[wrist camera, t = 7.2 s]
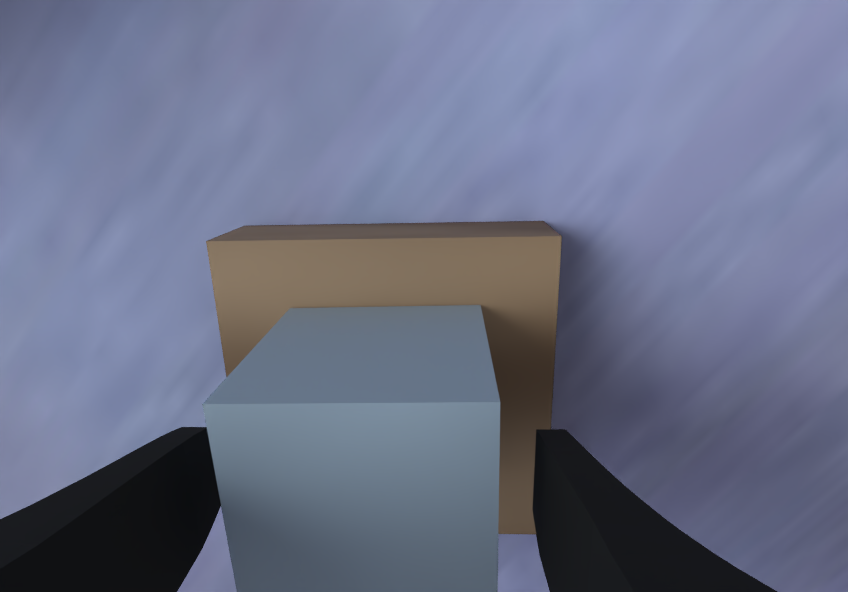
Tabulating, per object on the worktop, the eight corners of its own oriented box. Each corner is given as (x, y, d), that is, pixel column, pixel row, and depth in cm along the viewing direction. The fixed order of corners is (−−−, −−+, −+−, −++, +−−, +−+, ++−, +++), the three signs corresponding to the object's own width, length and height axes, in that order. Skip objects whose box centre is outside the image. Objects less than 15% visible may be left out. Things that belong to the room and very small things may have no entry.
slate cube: (480, 469, 15) (496, 632, 10) (308, 469, 15) (243, 628, 10) (480, 304, 13) (500, 401, 8) (290, 308, 13) (201, 404, 8)
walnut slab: (529, 471, 18) (544, 534, 15) (280, 469, 18) (249, 529, 16) (540, 218, 15) (561, 236, 12) (250, 223, 16) (206, 241, 13)
